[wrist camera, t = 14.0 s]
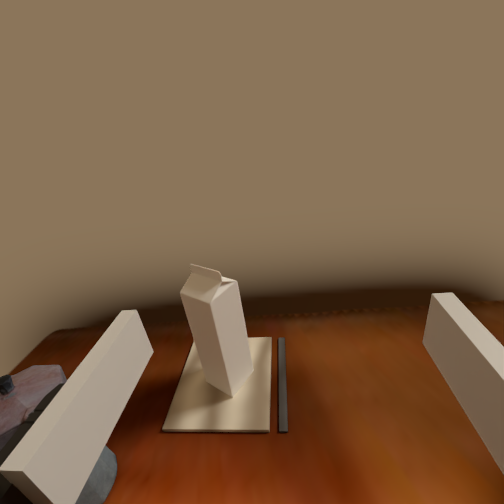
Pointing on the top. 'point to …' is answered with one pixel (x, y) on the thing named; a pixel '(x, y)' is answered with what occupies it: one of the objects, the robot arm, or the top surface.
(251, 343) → the mat
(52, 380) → the moka pot
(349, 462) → the top surface
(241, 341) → the milk
